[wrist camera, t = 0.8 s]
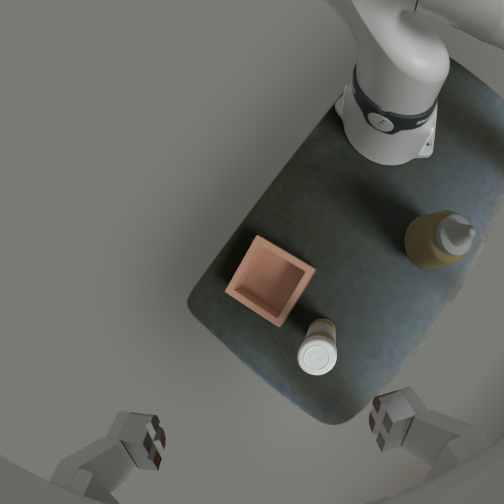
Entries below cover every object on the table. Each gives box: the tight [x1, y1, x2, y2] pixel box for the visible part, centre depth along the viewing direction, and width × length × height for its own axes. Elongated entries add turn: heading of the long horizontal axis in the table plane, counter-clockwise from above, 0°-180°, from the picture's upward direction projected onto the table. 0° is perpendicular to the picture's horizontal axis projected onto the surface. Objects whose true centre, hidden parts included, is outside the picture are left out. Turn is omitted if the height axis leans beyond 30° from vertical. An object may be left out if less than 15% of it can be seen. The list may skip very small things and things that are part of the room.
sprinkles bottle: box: [298, 318, 337, 375], centre depth 36 cm, size 5×5×13 cm
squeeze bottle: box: [404, 210, 476, 270], centre depth 29 cm, size 8×8×18 cm
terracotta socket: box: [225, 235, 317, 327], centre depth 43 cm, size 10×10×4 cm
